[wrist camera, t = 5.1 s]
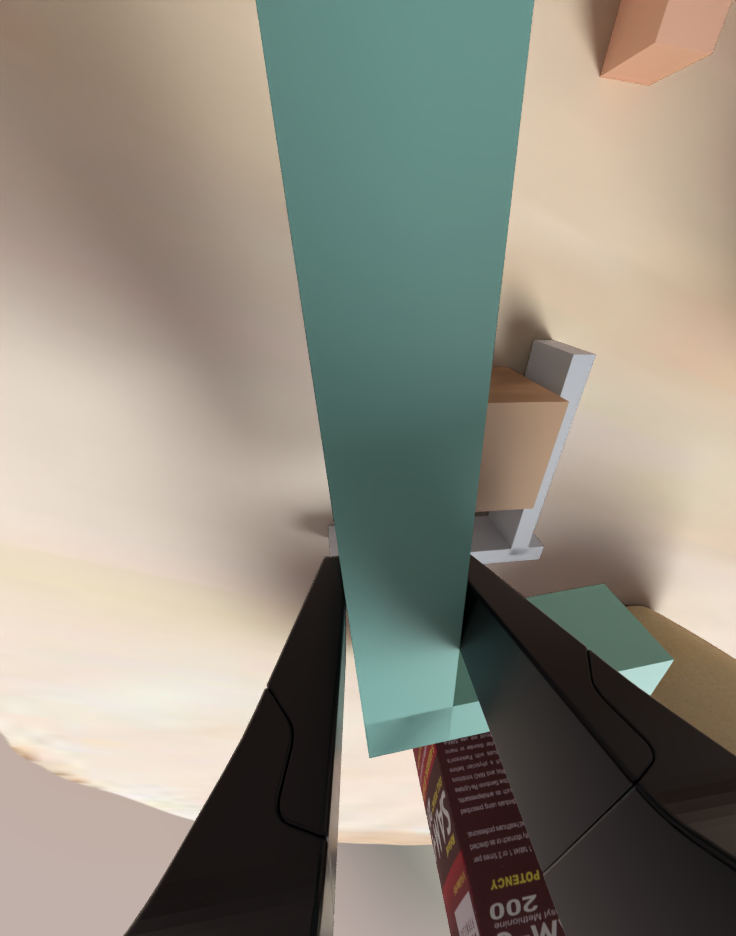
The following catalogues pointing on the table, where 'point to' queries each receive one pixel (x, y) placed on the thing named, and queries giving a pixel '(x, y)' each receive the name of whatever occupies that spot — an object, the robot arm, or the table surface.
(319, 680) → the robot arm
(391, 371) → the crook
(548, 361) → the gray angle bracket
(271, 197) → the table surface
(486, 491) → the block
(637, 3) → the offcut
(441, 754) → the supplement box
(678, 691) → the plant pot
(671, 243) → the table surface
